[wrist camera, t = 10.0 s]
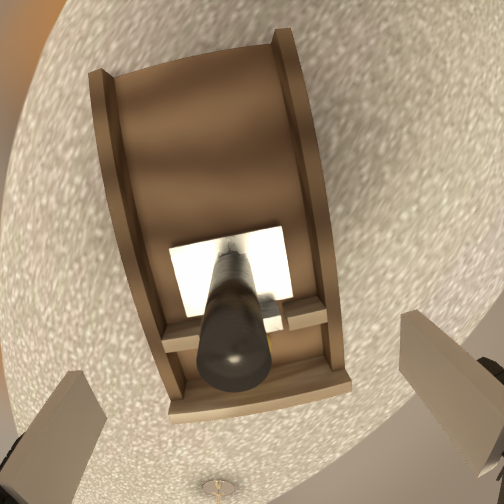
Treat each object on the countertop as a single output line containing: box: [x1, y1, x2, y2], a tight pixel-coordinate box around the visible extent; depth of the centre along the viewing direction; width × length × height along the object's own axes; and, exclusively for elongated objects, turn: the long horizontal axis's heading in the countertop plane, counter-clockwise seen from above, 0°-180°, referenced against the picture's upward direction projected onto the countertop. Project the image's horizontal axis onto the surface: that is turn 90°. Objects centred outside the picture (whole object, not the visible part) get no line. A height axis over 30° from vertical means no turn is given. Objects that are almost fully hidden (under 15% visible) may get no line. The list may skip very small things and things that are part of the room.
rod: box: [169, 224, 293, 392], centre depth 20 cm, size 7×9×14 cm
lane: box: [88, 28, 352, 424], centre depth 24 cm, size 30×16×6 cm, turn 11°
